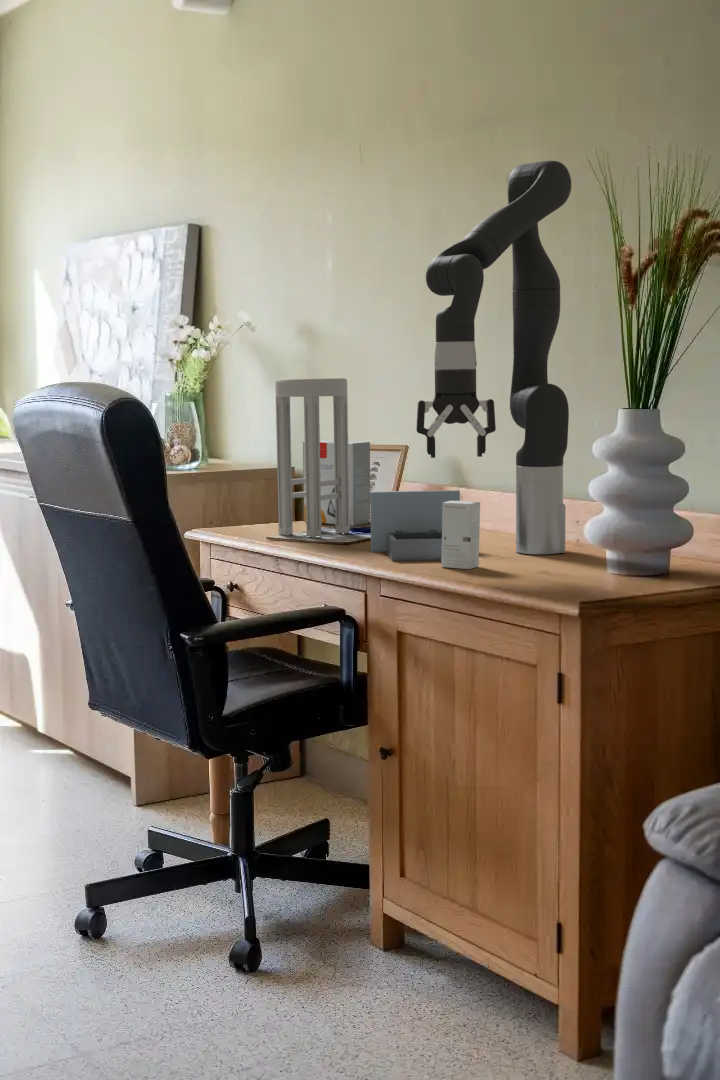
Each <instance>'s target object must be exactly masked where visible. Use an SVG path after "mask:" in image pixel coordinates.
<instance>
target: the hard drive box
mask: <svg viewBox="0 0 720 1080" xmlns="http://www.w3.org/2000/svg"><path fill="white" fill-rule="evenodd" d="M302 466H303V467H302V470H303V471H302V472H303V477H302V478H305V440H304V441H302ZM348 466H349V527H350V526H351V527H354V526H359V525H367V524H371V507H370V492H371V442H370V441H355V440H348ZM320 478H321V481H324V480H335V469H334V439H332V440H328V439H326V440H325V439H320ZM305 491H306V483H305V484H303V492H305ZM331 493H335V485H330V486H321V495H322V494H331ZM369 519H370V521H369ZM303 522H305V523H306V497H303ZM321 524H327V525H335V499H328V500H321Z"/></svg>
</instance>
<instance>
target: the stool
mask: <svg viewBox="0 0 720 1080" xmlns="http://www.w3.org/2000/svg"><path fill="white" fill-rule="evenodd" d="M274 389H275V414H276V415H275V417H276V418H275V419H276V420H275V421H276V422H275V424H276V426H275V427H276V428H275V429H276V462H277V464H276V465H277V466H276V469H277V470H276V471H277V474H276V475H277V509H278V511H277V512H278V514H277V515H278V517H277V518H278V535H279V536H290V534H292V535H294V534H293V533H294V530H293V529H294V528H293V526H294V525H293V499H300V498H304V497H306V522H305V523H306V526H305V527H306V528H305V529H306V537H307V536H310V537H316V536H321V537H322V523H321V500H328V499H335V524H334V525H335V526H334V527H335V534H336V533H349V532H350V531H351V530H350V526H349V466H348V441H349V418H348V417H349V415H348V414H349V413H348V411H349V410H348V406H349V405H348V380H347V378H345V377H316V378H314V377H312V378H311V377H310V378H309V377H308V378H300V377H299V378H277V379H276V380H275V388H274ZM291 397H292V398H296V397H298V398H301V397H302V398H303V415H304V416H303V421H304V422H303V423H304V425H303V426H304V427H303V428H304V441H305V478H303V477H302V478H301V477H300V478H292V477H293V476H292V474H293V473H292V439H291V438H292V437H291V436H292V434H291ZM320 397H332V400H333V402H332V403H333V405H332V406H333V408H332V409H333V441H334V469H335V480H324V481H321V478H320V440H321V437H320V436H321V433H320V431H321V430H320V425H321V424H320ZM305 483H306V491H305V492H304V491H298V492H297V491H295V492H293V486H294V485H295V486H296V485H302V484H305ZM330 485H335V493H331V494H322V495H321V486H330ZM350 533H351V532H350ZM350 533H349V534H350Z"/></svg>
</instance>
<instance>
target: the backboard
mask: <svg viewBox="0 0 720 1080" xmlns="http://www.w3.org/2000/svg"><path fill="white" fill-rule="evenodd" d="M447 501H461V490H460V489H455V490H453V489H451V490H447V489H445V490H444V489H443V490H404V491H403V490H402V491H401V490H396V491H370V550H371V551H370V552H374V553H375V552H387V533H396V531H399V530H402V533H411V532H430V530H437V532H442V504H443V503H444V502H447Z"/></svg>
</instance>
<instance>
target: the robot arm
mask: <svg viewBox="0 0 720 1080" xmlns="http://www.w3.org/2000/svg"><path fill="white" fill-rule="evenodd" d="M571 191H572V177H571V173H570V172H569V169H568V168H567V166H566V165H565V164H564V163H562V162H561V161H558V160H542V161H537V162H532V163H531V162H530V163H525V164H520V165H517V166H515V167H514V168H513V169H512V171H511V172H510V174H509V178H508V181H507V203H508V204H506V205H504V206H503V207H501V208H499V209H498V210H496V211H494V212H492V213H490V214H489V215H488V216H486V217H485V218H483V219H481V221H479V223H478V224H477V225H475V226H474V227H473V228H472V229H471V230H470V231H469V232H468V234H467V235H465V237H464V238H462V239H461V240H459V241H457V242H456V243H454V244H452V245H451V246H449V247H448V248H446V249H444V250H442V251H441V252H440V253H439V254H437V255H436V256H435V257H434V258H433V259H432V260H431V261H430V263H429V265H428V267H427V268H426V271H425V272H426V273H425V281H426V282H425V283H426V285H427V288H428V289H429V290H430V292H431V293H433V294H435V295H437V296H441V297H446V296H453V297H452V301H451V303H450V305H449V306H448V307H446V308H444V309H441V310H439V311H438V312H437V314H436V316H435V350H434V363H433V364H434V398H433V400H432V401H426V400H425V401H424V400H422V399H421V400H418V402H417V409H416V410H417V413H416V432H417V433H418V434H421V435H424V436H425V438H426V453H427V455H430V458H431V459H435V458H436V437H435V434H436V433H437V431H438V430H439V428H440V427H441V426H442V424H443V423H444V424H446V425H447V424H448V425H450V424H451V425H453V424H455V423H457V424H466V423H469V424H470V425H471V426H472V428H473V429H474V430H475V431H476V433H477V436H476V456H477V458H480V457H483V454H485V453H486V448H487V446H486V445H487V444H486V443H487V442H486V441H487V440H486V437H487V435H490V434H491V433H495V432H496V430H497V429H496V427H497V426H496V413H495V401H494V399H492V398H488V399H485V400H479V399H478V395H477V365H478V364H477V363H478V361H477V352H476V345H475V344H476V343H475V337H476V335H475V328H476V327H475V319H476V315H477V310H478V307H479V303H480V299H481V295H482V290H483V287H484V281H485V280H484V279H485V276H484V275H485V274H484V273H485V272H484V270H487V269H488V268H489V267H491V266H492V265H493V264H494V263H495V262H496V261H497V260H498V259H499V258H500V257H501V256H502V255H503V253H505V252H506V250H507V249H509V247H510V246H512V248H511V249H512V251H511V253H512V320H513V321H512V324H513V326H512V327H513V328H512V330H513V331H512V333H513V334H512V336H513V337H512V339H513V342H512V343H513V344H512V345H513V346H512V347H513V349H512V350H513V361H512V363H513V365H512V374H511V383H510V385H511V386H510V395H509V410H510V415H511V417H512V420H513V422H514V423H515V424H516V425H517V426H518V427H519V428H521V429H523V430H524V441H523V444H522V446H521V448H519V449H518V450H517V452H516V454H515V552H516V553H519V554H524V555H525V554H526V555H527V554H528V555H554V554H561V553H563V554H565V553H566V504H565V503H564V457H565V455H566V452H567V448H568V442H569V441H568V440H569V423H570V421H569V419H570V418H569V417H570V415H569V413H570V411H569V402H568V398H567V396H566V393H565V392H564V391H563V389H562V388H561V387H559V386H558V385H556V384H553V383H549V381H548V380H549V379H548V360H549V354H550V350H551V346H552V343H553V340H554V337H555V335H556V332H557V328H558V325H559V320H560V315H561V281H560V277H559V274H558V271H557V270H556V267H555V266H554V264H553V262H552V261H551V259H550V257H549V255H548V254H547V252H546V250H545V248H544V247H543V244H542V241H541V237H540V234H539V233H540V232H539V222H540V221H542V220H544V219H545V218H546V217H547V216H549V215H550V214H552V213H554V212H555V211H557V210H558V209H560V208H561V207H562V206H563V205H564V204H566V202H567V201H568V199H569V197H570V195H571ZM479 407H481V409H482V411H483V412H485V413H486V423H487V424H486V426H485V427H483V425H482V424H481V423H480V421H479V420H478V419H477V417H475V415H474V414H475V413H476V411H477V410H478V409H479ZM430 408H432V409H433V410H434V411H435V412H436V414H437V416H436V418H435V419H434V421H432V423H431V425H430V426H429V428H426V427H425V419H426V418H425V414H427V413H429V412H430Z"/></svg>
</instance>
